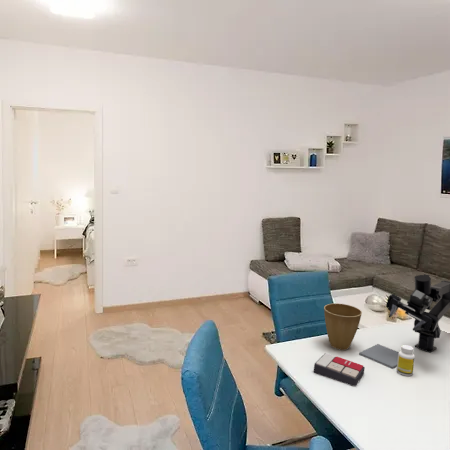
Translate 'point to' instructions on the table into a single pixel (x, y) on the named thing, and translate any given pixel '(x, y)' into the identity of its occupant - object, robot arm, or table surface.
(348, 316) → the plant pot
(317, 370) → the calculator
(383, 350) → the slate mat
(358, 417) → the table surface
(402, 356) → the supplement bottle
